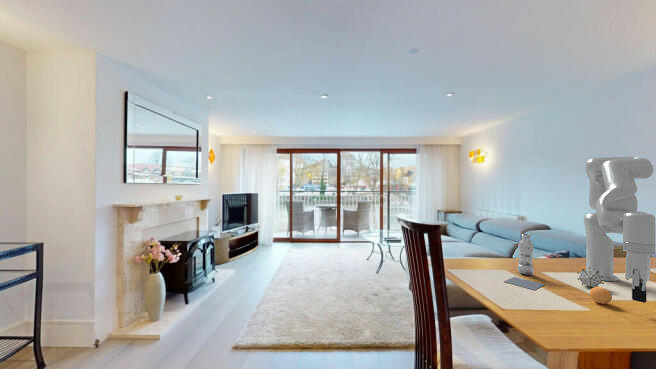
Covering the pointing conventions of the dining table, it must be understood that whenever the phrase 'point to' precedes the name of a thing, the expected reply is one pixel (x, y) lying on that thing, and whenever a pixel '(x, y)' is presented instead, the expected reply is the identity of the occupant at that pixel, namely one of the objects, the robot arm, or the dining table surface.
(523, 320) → the dining table surface
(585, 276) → the grey spiky ball
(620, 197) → the robot arm
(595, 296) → the ball
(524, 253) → the plastic bottle
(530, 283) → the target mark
